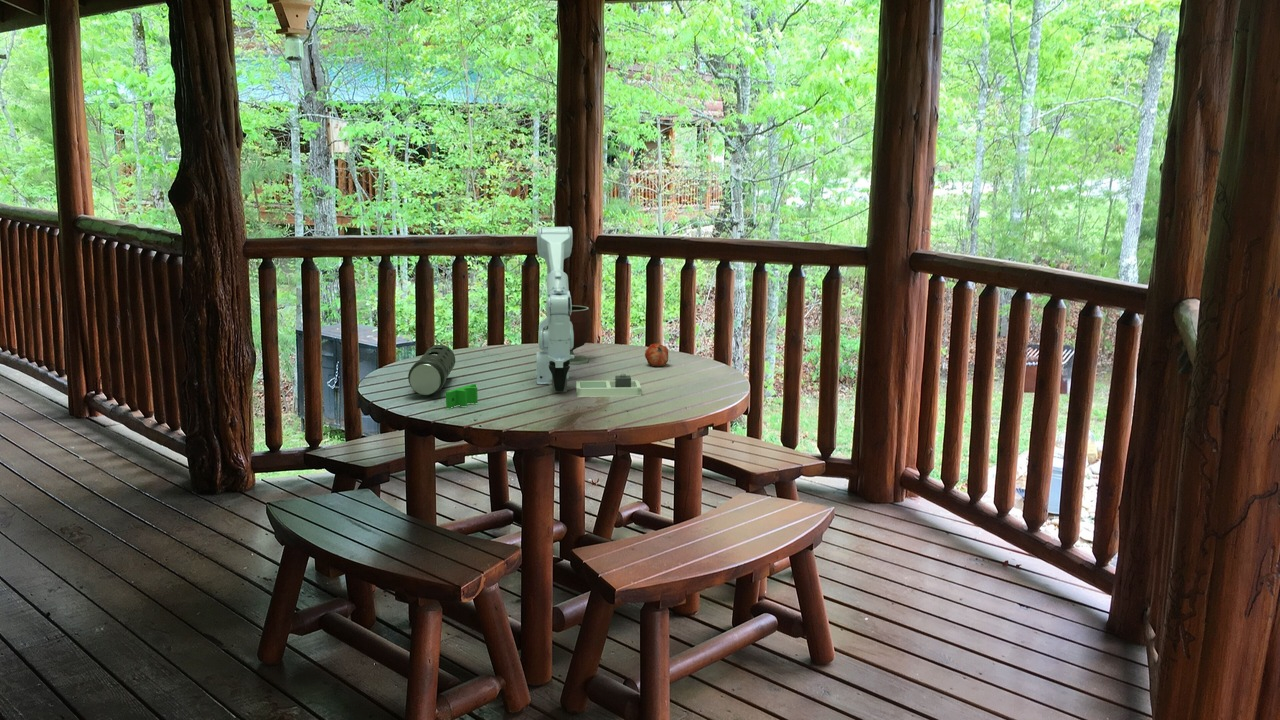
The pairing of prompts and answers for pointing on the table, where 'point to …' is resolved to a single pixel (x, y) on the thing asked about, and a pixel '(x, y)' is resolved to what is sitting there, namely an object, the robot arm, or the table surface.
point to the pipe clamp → (462, 396)
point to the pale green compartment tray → (606, 389)
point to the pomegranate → (657, 355)
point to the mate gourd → (579, 330)
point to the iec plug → (554, 386)
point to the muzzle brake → (431, 370)
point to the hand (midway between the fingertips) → (559, 389)
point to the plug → (622, 381)
